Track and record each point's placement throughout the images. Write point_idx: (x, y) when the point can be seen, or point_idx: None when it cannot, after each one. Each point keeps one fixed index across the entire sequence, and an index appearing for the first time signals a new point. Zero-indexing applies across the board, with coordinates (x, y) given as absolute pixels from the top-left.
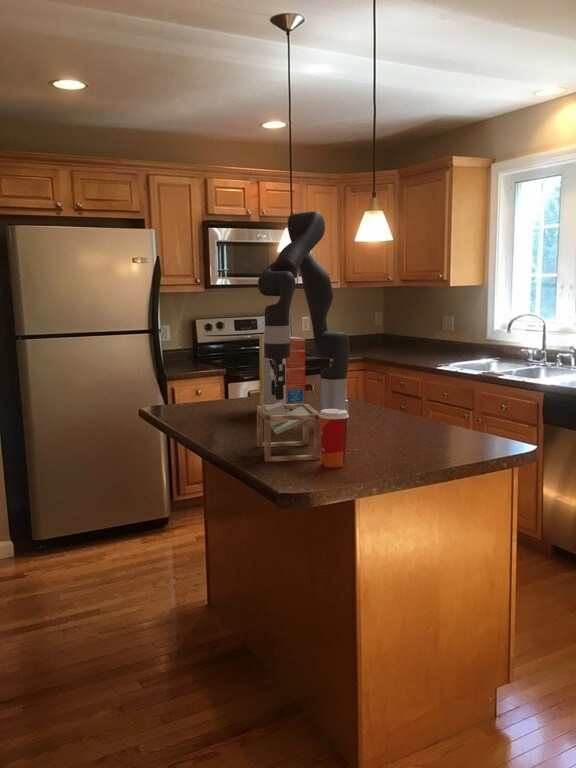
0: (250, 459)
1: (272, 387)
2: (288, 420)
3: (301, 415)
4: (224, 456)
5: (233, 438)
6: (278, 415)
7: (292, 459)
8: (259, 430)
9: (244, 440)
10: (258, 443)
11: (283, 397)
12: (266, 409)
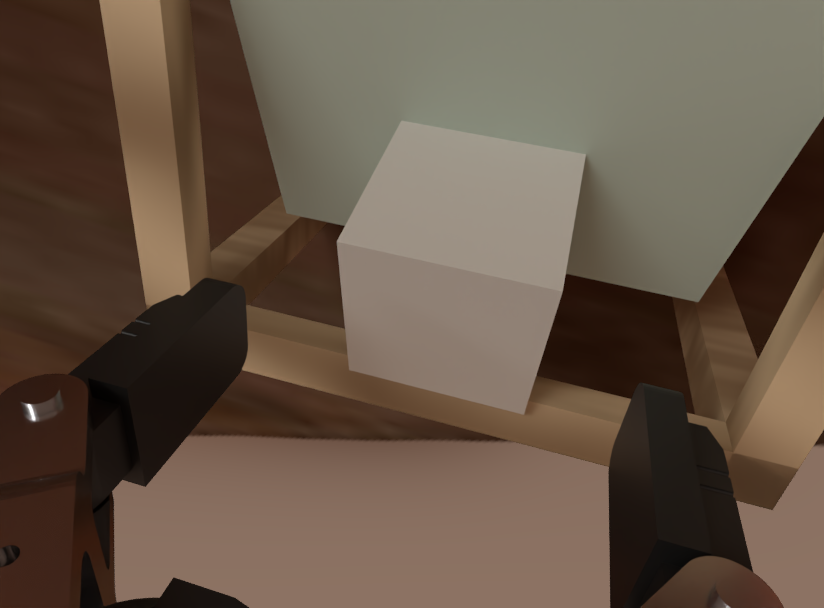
0: (605, 336)
1: (186, 421)
2: (578, 149)
3: None
4: None
5: (114, 260)
6: (796, 389)
7: None
8: (296, 242)
9: None
10: None
11: (683, 402)
12: (479, 401)
